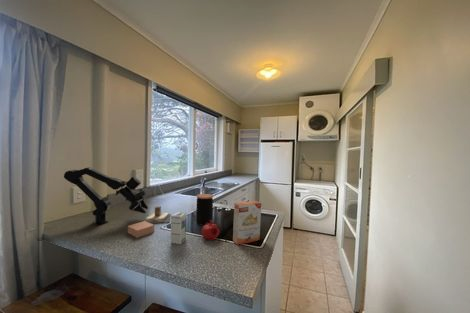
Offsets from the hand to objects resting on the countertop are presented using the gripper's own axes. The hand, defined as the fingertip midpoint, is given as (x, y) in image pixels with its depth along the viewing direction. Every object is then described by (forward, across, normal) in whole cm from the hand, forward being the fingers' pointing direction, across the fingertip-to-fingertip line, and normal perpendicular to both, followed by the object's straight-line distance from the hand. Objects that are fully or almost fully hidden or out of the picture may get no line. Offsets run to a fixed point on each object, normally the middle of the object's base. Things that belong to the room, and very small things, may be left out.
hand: (146, 210), depth 132 cm
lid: (+8, 0, -2) cm, 8 cm away
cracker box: (+44, -42, -36) cm, 71 cm away
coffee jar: (+31, -11, -22) cm, 40 cm away
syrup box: (+20, -35, -10) cm, 42 cm away
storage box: (+5, -20, +4) cm, 21 cm away
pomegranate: (+32, -34, -23) cm, 52 cm away
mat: (+10, 0, -1) cm, 10 cm away
